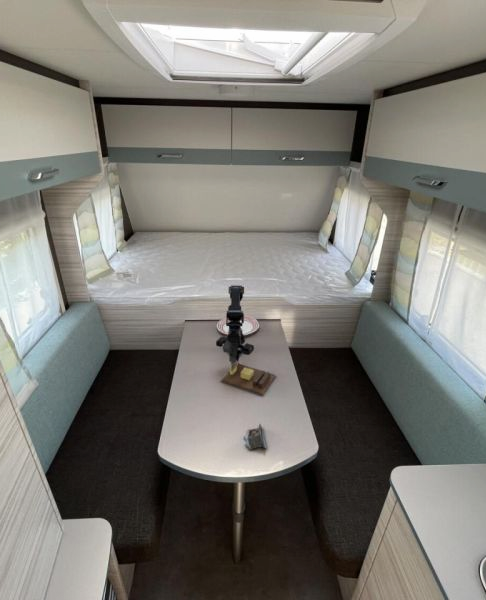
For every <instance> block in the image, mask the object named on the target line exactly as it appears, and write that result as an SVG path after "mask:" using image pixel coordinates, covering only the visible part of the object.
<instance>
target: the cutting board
mask: <svg viewBox="0 0 486 600" xmlns="http://www.w3.org/2000/svg"><path fill="white" fill-rule="evenodd" d="M244 368H248V369H251V370H254V375H253V377H252V378H251V379H250V380H247V379H244V378H241V371H242V370H243V369H244ZM274 379H276V374H275V373H271V372H269V371H265V370H263V369H262V370H261V369H258V368H255V367H252V366H248V365H245V364H241V363H239V364H238V365H237V370H236V371H235V373H234V374H233V375H232V374H230V370H229V371H228V372H227V373H226V374H225V375H224V376H223V377H222V378H221V382H222V383H224V384H227V385H231V386H233V387H236V388H239V389H242V390H245V391H247V392H251V393H253V394H256V395H259V396H263V395H264V394H265V392H266V391H267V389H268V388H269V387H270V385H271V384H272V383H273V381H274Z"/></svg>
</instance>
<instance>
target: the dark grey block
mask: <svg viewBox="0 0 486 600" xmlns="http://www.w3.org/2000/svg"><path fill="white" fill-rule="evenodd" d="M228 358H229V359H228V361H229V362H230V368H231V372H232V371H233V369H234V368H235V367H236V366H237V365H238V364H240V359H239V360H238V361H237V353H236V352H233V353H232V354H231V355H229V357H228Z"/></svg>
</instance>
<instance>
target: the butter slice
mask: <svg viewBox="0 0 486 600" xmlns="http://www.w3.org/2000/svg"><path fill="white" fill-rule="evenodd" d="M236 370H237V366H236V367H235V368H234V369H233V371H232V372H231V367H229V371H230V374H232V375H233V374H234V373H235V371H236Z"/></svg>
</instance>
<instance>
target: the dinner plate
mask: <svg viewBox="0 0 486 600" xmlns="http://www.w3.org/2000/svg"><path fill="white" fill-rule="evenodd" d="M228 322H230V321H229V320H228ZM240 322H241V321H240ZM259 327H260V323H259V321H258V320H257V319H256V318H254V317H251V316H248V315H244V323H243V325H242V326H241V329H242V330H243V334H244V336H248V335H250V334H253V333H255V332H256V331H258V329H259ZM216 329H217V330H218V331H219V332H220V333H222V334H224V335H227V336H228V330H229V326H226V317H224V318H222V319H220V320H219V321H217V324H216Z"/></svg>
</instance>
